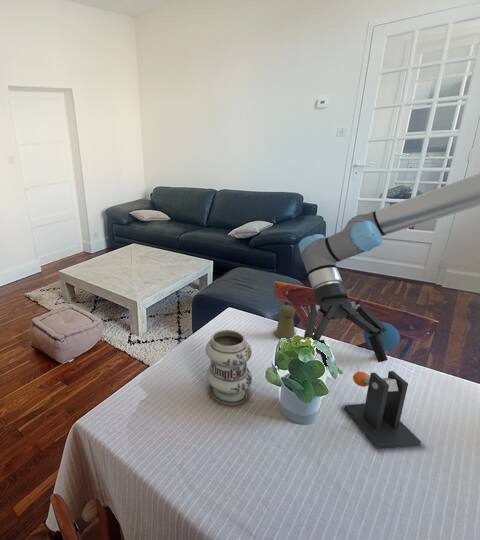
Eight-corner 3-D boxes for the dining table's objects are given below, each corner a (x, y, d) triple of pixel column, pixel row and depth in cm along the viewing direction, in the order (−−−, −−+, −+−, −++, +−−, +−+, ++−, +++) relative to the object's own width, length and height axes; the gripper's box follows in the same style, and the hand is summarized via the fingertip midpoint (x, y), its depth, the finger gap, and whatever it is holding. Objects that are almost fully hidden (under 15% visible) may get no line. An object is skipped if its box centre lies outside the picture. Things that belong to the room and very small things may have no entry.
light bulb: (373, 347, 106) (379, 314, 102) (402, 361, 99) (409, 326, 94) (353, 355, 104) (359, 321, 99) (382, 370, 96) (389, 334, 92)
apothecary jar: (218, 373, 103) (217, 321, 97) (258, 388, 95) (260, 333, 89) (198, 396, 95) (196, 341, 88) (240, 414, 87) (241, 356, 81)
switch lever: (351, 386, 85) (348, 371, 86) (366, 384, 85) (362, 370, 86) (385, 394, 73) (381, 377, 74) (402, 393, 73) (398, 376, 74)
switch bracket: (344, 408, 85) (350, 363, 80) (380, 405, 85) (389, 359, 80) (377, 449, 74) (388, 398, 69) (420, 445, 73) (433, 395, 69)
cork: (279, 328, 122) (281, 301, 118) (297, 333, 118) (299, 305, 114) (272, 336, 118) (274, 308, 114) (290, 341, 114) (293, 312, 110)
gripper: (365, 287, 98) (396, 361, 89) (278, 295, 99) (300, 370, 90) (381, 277, 91) (416, 356, 82) (287, 286, 92) (312, 365, 83)
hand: (355, 363), depth 86 cm, fingers open, 13 cm apart
